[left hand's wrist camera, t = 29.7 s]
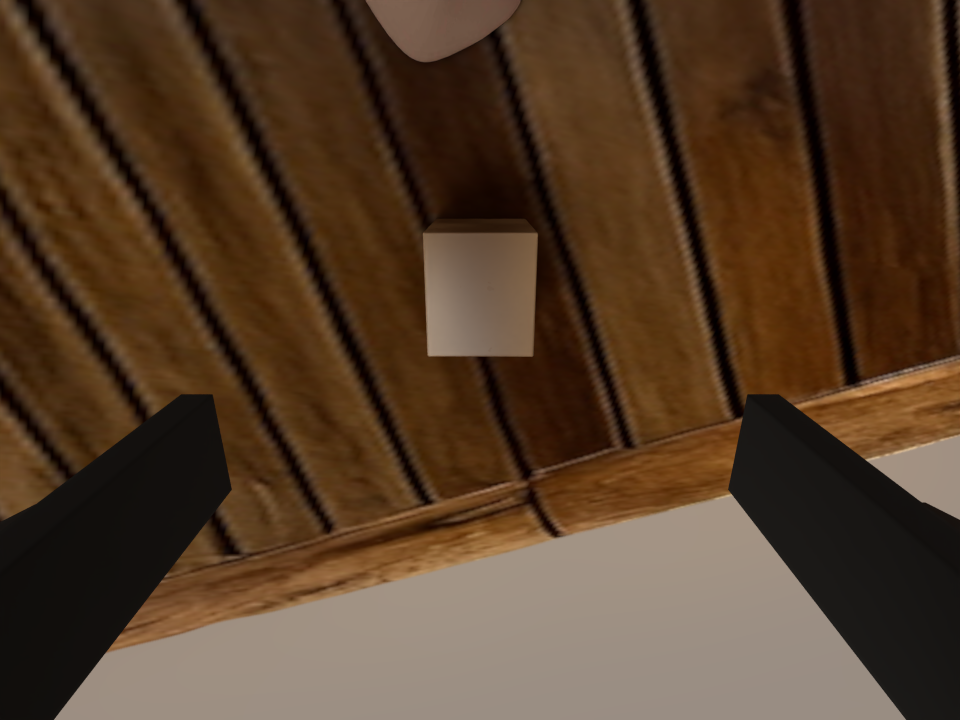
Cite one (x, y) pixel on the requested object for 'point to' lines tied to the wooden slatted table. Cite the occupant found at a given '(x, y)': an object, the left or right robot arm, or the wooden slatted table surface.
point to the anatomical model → (440, 24)
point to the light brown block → (480, 287)
